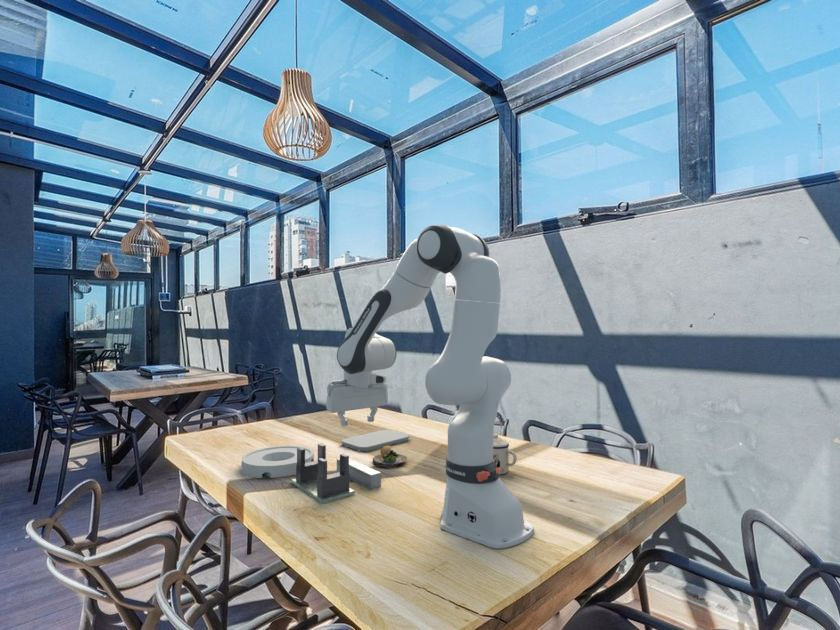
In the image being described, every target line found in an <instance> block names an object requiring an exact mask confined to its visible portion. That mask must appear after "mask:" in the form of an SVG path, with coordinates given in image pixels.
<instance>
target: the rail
mask: <svg viewBox="0 0 840 630" xmlns="http://www.w3.org/2000/svg"><path fill="white" fill-rule="evenodd" d="M338 472H340V457H338V458H336V473H338ZM349 474H350V480H351V481H353V482H355V483H357V484H358V485H360V486H363V487H364V488H367V489H368V490H370V491H372V490H376V489H379V488H382V472H381V471H378V470H377V469H374V468H372V467H370V466H367V465H366V464H363V463H361V462H359V461H358V460H357V461H356V460H354V459H352V458H350V457H349Z"/></svg>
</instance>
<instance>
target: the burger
mask: <svg viewBox="0 0 840 630" xmlns="http://www.w3.org/2000/svg"><path fill="white" fill-rule="evenodd" d="M382 444H383V443H382ZM379 452H380V454H378V455H376V456H374V457H372V465H373V466H374V467H376V468H377V467H378V468H380V469H397V468H398V467H399V466H400V464H403V463H404V462H405V461H407V459H408V458H407V456H405V455H402V454H398V453H397V452H396V451H394V450H393V449H392V446H391V445H390V446H384V447H382V448H380V451H379Z"/></svg>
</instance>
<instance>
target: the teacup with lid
mask: <svg viewBox="0 0 840 630" xmlns="http://www.w3.org/2000/svg"><path fill="white" fill-rule="evenodd" d="M509 447H510V443H509V442H508V441H507V440H506V439H502V437H500V436H499V435H498V434H497V433H493V459H494V460H495V463H496V466H497V468H499V467H502V469H501V470H499V471H502V472H499V475H504V474H506V473H508V472H509V467H512V466H515V464H516V463H517V454H516V452H514V451H513V450H511V449H509ZM509 454H510V455H512V458H513V460H512V463H509V461H510V460H509V458H510V457H509Z"/></svg>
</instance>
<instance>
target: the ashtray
mask: <svg viewBox="0 0 840 630" xmlns="http://www.w3.org/2000/svg"><path fill="white" fill-rule="evenodd" d="M299 447H301V448H303V449H305V463H308V462H312V461H315V451H314V450H313V449H311V448H309V447H306V446H300V445H277V446H270V447H269V446H267V447H262V448H260V449H255V450H253V451H250V452H247V453H246V454H244V455H243V456H242V457H241V473H242V474H244V475H245V476H248V477H251V478H258V479H263V474H264V475H265V476H267V477H269V478H271V479H274V478H275V479H276V478H285V477H289V476H290V477H291V476H294V475H295V476H296V465H297V448H299Z"/></svg>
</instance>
